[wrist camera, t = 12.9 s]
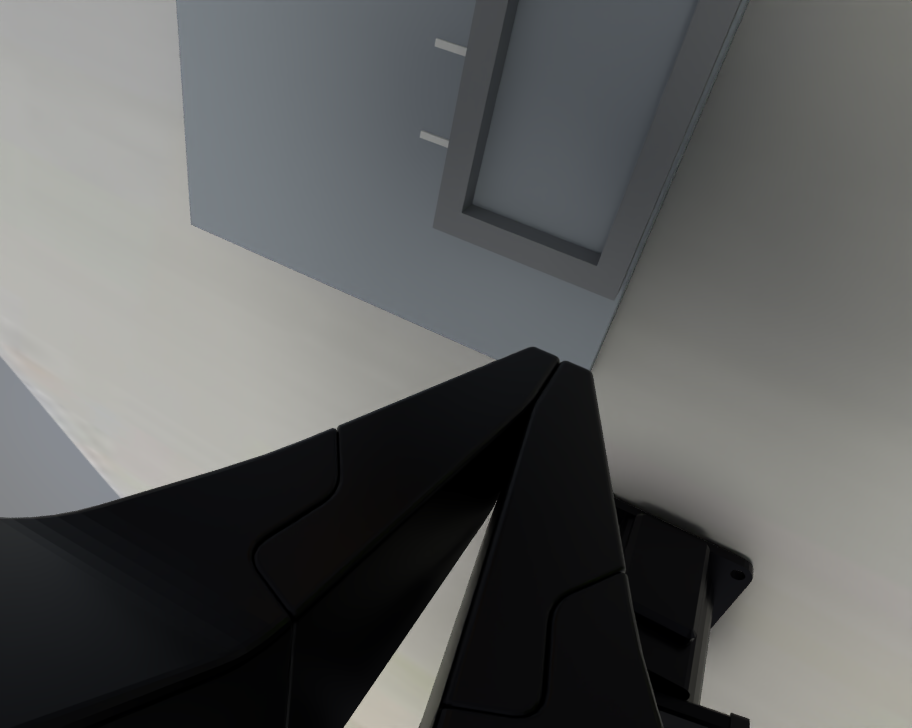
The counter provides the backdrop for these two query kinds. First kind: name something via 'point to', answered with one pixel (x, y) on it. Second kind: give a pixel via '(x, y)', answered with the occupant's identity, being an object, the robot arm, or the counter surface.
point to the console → (449, 149)
